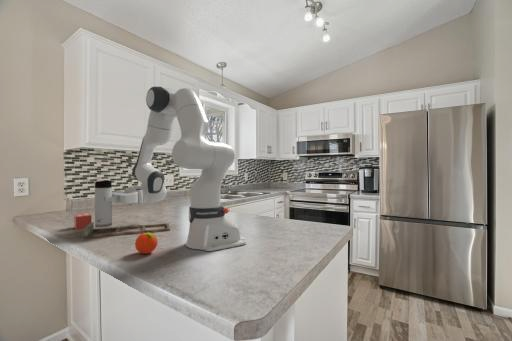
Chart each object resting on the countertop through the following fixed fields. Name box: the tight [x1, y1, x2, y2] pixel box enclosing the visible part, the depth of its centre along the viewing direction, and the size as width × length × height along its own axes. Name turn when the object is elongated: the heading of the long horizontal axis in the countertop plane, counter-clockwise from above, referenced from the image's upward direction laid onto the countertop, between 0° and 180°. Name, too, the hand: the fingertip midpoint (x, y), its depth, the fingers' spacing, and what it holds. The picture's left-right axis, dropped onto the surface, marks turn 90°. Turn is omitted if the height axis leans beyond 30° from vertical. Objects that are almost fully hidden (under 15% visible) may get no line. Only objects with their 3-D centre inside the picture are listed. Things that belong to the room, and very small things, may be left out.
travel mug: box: [94, 179, 113, 228], centre depth 108 cm, size 6×7×20 cm
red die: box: [73, 213, 92, 231], centre depth 118 cm, size 6×6×6 cm
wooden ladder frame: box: [83, 221, 171, 239], centre depth 112 cm, size 33×12×4 cm, turn 113°
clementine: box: [134, 232, 158, 255], centre depth 83 cm, size 8×7×7 cm
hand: (101, 198), depth 107 cm, fingers closed on travel mug, 6 cm apart
